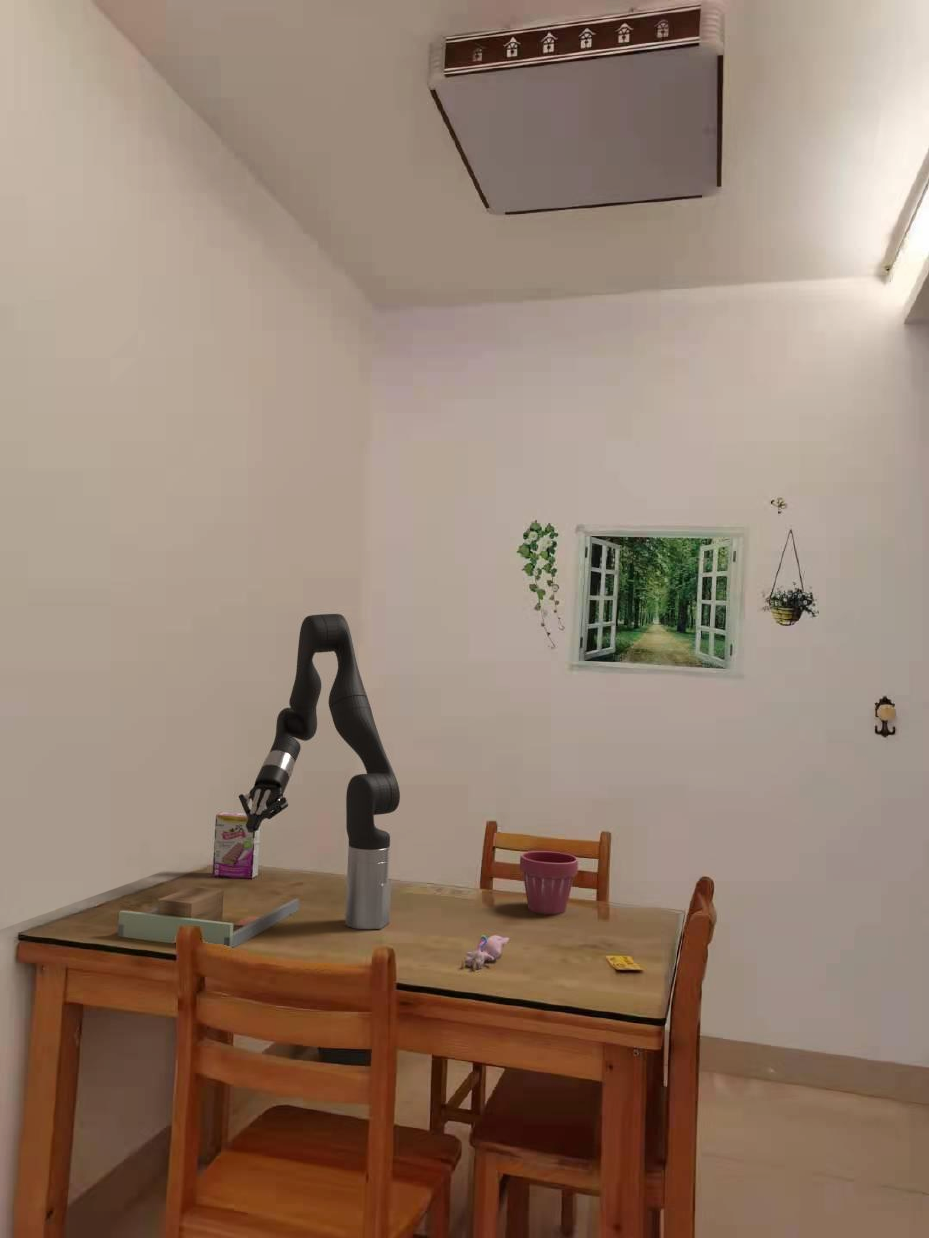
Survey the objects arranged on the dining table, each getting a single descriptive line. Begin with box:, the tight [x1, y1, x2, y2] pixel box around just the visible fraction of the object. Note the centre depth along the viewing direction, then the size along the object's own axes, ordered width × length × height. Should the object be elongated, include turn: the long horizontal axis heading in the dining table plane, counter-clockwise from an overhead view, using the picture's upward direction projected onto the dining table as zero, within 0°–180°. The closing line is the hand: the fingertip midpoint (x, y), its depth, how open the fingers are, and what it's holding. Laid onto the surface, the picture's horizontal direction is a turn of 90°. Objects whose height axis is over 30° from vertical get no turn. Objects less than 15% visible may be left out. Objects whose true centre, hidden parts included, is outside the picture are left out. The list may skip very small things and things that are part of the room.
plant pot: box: [519, 850, 579, 915], centre depth 228 cm, size 14×14×13 cm
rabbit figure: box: [461, 934, 510, 972], centre depth 186 cm, size 6×6×15 cm
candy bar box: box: [212, 811, 262, 879], centre depth 250 cm, size 11×5×16 cm, turn 84°
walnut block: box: [157, 886, 224, 922], centre depth 197 cm, size 8×12×8 cm, turn 163°
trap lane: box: [117, 898, 300, 949], centre depth 205 cm, size 25×33×5 cm
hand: (250, 830), depth 221 cm, fingers closed
